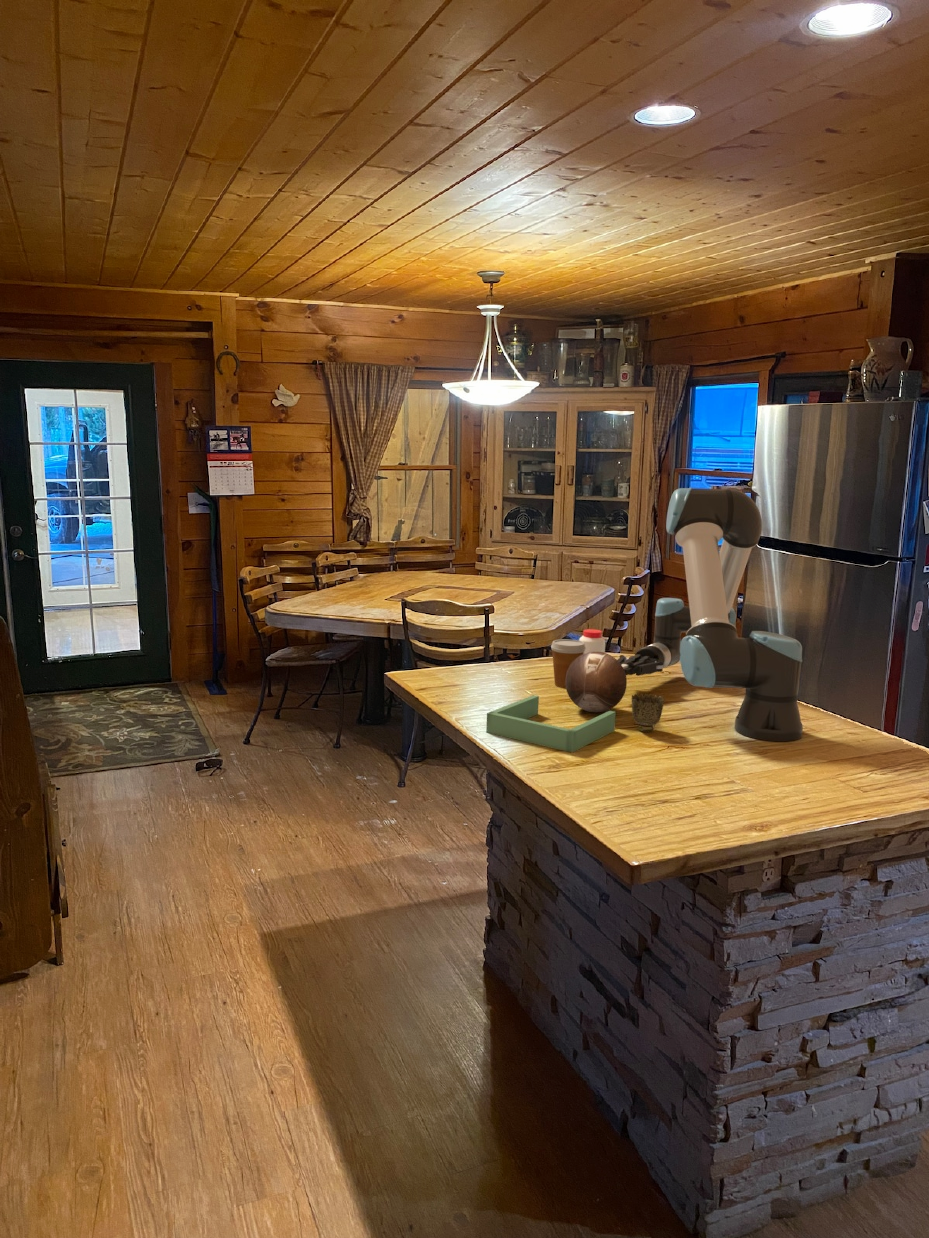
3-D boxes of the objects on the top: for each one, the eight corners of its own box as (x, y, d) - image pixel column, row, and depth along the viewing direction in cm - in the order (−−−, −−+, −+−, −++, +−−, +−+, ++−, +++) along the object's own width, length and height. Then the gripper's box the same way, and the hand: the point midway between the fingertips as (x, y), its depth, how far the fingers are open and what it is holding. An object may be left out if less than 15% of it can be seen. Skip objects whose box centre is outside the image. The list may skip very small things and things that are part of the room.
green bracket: (532, 712, 225) (533, 695, 224) (614, 730, 212) (615, 711, 211) (486, 732, 208) (486, 713, 207) (572, 752, 196) (573, 732, 195)
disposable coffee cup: (543, 681, 256) (545, 639, 253) (575, 680, 258) (577, 638, 256) (557, 690, 247) (559, 646, 245) (589, 688, 250) (591, 645, 247)
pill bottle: (607, 666, 276) (609, 630, 275) (597, 671, 270) (599, 634, 268) (584, 662, 280) (586, 627, 279) (573, 667, 274) (575, 631, 272)
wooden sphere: (564, 718, 221) (567, 657, 218) (563, 701, 236) (566, 644, 233) (627, 721, 220) (631, 660, 217) (622, 704, 235) (625, 647, 232)
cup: (661, 736, 209) (664, 702, 207) (629, 733, 210) (631, 700, 209) (661, 727, 216) (664, 694, 214) (629, 724, 217) (632, 691, 216)
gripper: (673, 675, 252) (636, 692, 232) (629, 668, 259) (590, 683, 240) (675, 648, 250) (638, 663, 231) (631, 642, 257) (592, 655, 238)
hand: (614, 673), depth 235 cm, fingers closed
